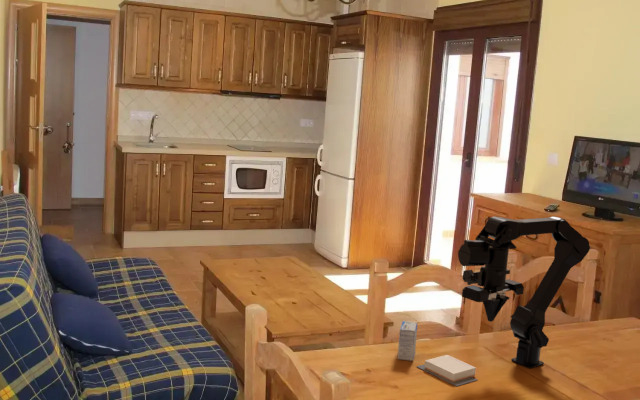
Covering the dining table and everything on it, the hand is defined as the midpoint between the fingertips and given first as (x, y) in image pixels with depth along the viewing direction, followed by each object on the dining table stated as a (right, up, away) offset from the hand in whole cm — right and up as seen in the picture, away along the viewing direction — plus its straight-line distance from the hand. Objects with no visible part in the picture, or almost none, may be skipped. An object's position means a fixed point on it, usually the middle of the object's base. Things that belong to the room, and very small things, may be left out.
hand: (490, 321), depth 184 cm
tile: (-8, -11, -2) cm, 14 cm away
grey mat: (-13, -13, -5) cm, 19 cm away
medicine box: (-22, -11, +6) cm, 25 cm away
